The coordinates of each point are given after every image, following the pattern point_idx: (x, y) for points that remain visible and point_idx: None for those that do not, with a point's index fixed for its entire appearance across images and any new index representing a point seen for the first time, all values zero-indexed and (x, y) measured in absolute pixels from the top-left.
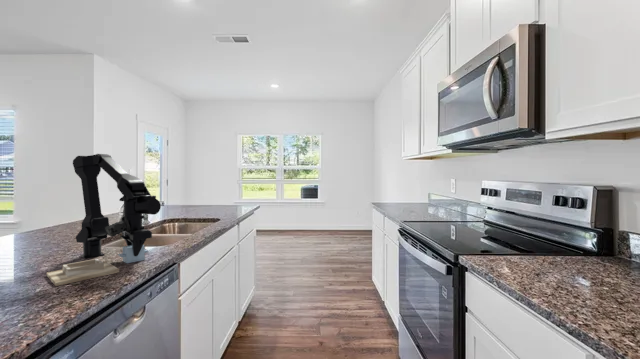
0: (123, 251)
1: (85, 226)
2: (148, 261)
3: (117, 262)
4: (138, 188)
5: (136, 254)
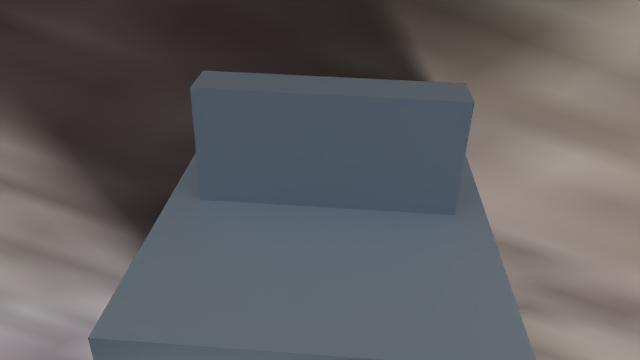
0: (416, 247)
1: None
2: None
3: (509, 29)
4: None
5: None
